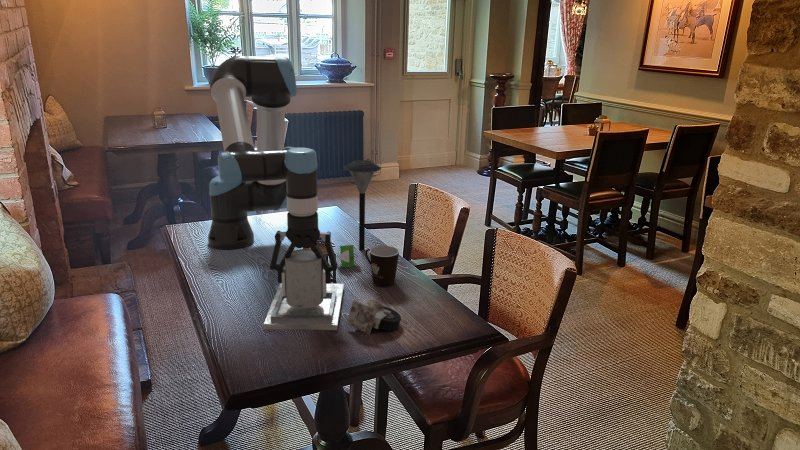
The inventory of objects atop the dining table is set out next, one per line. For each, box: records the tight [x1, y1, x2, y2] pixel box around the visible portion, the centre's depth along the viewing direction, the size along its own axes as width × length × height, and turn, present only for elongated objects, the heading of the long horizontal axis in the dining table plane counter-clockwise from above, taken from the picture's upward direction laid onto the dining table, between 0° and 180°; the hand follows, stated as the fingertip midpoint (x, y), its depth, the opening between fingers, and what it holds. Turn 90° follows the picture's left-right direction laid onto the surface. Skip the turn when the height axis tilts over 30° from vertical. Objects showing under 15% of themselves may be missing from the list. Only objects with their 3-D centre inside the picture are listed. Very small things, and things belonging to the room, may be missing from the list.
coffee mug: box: [364, 245, 400, 288], centre depth 168 cm, size 12×9×10 cm
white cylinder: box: [284, 248, 324, 308], centre depth 146 cm, size 10×10×12 cm
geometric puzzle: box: [335, 244, 360, 268], centre depth 179 cm, size 7×7×8 cm
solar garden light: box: [343, 160, 382, 251], centre depth 188 cm, size 12×12×30 cm
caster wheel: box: [346, 299, 402, 335], centre depth 143 cm, size 7×11×10 cm
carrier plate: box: [263, 283, 345, 331], centre depth 151 cm, size 24×18×6 cm
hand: (304, 294), depth 147 cm, fingers closed on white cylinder, 9 cm apart
